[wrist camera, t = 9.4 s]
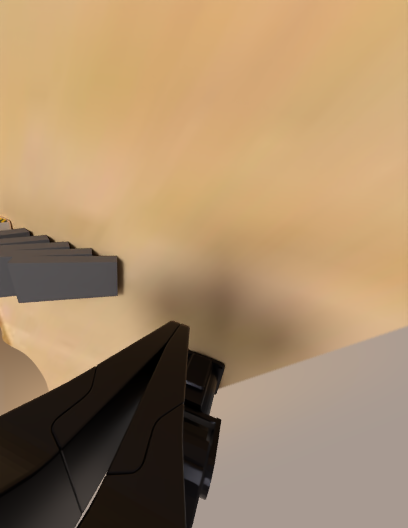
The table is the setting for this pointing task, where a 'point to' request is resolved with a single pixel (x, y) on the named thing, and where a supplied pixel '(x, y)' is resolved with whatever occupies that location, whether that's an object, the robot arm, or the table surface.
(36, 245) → the domino
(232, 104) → the table surface
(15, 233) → the domino
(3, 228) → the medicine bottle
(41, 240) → the domino
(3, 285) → the domino
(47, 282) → the domino
